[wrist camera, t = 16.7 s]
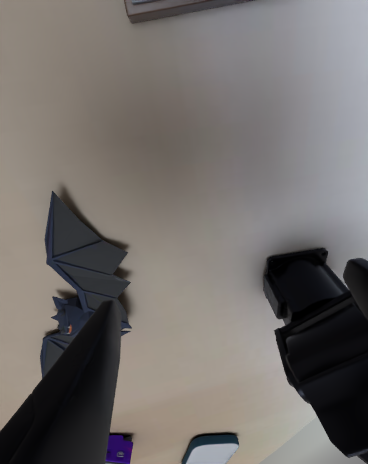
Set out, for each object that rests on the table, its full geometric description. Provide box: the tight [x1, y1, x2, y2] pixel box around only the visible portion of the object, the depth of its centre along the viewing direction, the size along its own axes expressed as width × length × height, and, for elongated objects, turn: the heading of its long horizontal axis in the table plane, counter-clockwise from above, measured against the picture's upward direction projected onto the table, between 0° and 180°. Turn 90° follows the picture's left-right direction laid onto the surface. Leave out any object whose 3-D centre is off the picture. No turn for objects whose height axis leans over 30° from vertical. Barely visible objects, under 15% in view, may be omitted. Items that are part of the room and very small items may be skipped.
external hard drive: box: [182, 435, 239, 464], centre depth 60 cm, size 24×12×2 cm, turn 172°
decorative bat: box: [40, 191, 131, 378], centre depth 26 cm, size 30×4×10 cm
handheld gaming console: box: [105, 435, 133, 464], centre depth 50 cm, size 9×5×15 cm
